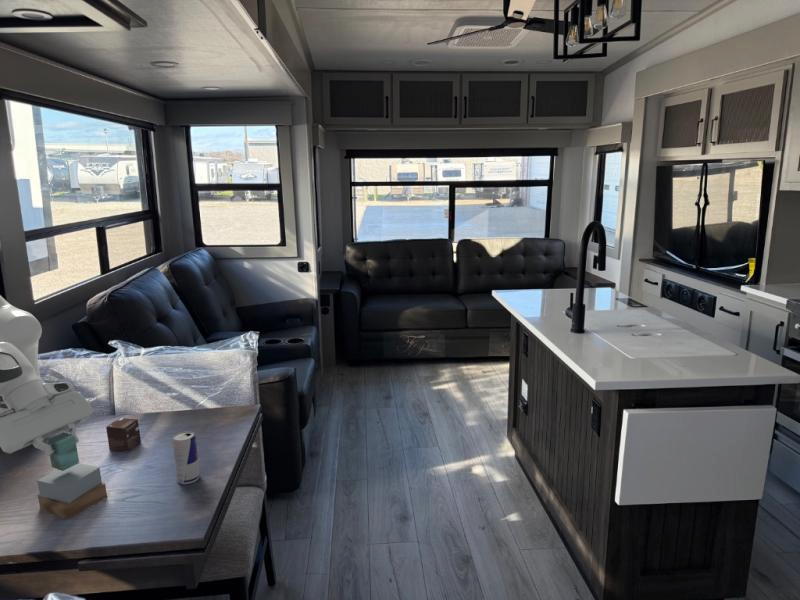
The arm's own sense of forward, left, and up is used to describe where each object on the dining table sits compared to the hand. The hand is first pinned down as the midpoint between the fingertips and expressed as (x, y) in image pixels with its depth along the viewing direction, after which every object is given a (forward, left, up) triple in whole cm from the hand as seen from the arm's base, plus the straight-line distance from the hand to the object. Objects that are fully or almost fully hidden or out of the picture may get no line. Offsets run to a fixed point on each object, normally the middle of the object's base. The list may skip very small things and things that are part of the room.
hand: (64, 448), depth 130 cm
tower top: (0, 0, -10) cm, 10 cm away
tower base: (0, 0, -14) cm, 14 cm away
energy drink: (+17, +19, -14) cm, 29 cm away
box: (-13, +24, -14) cm, 31 cm away
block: (-1, 0, -4) cm, 4 cm away
